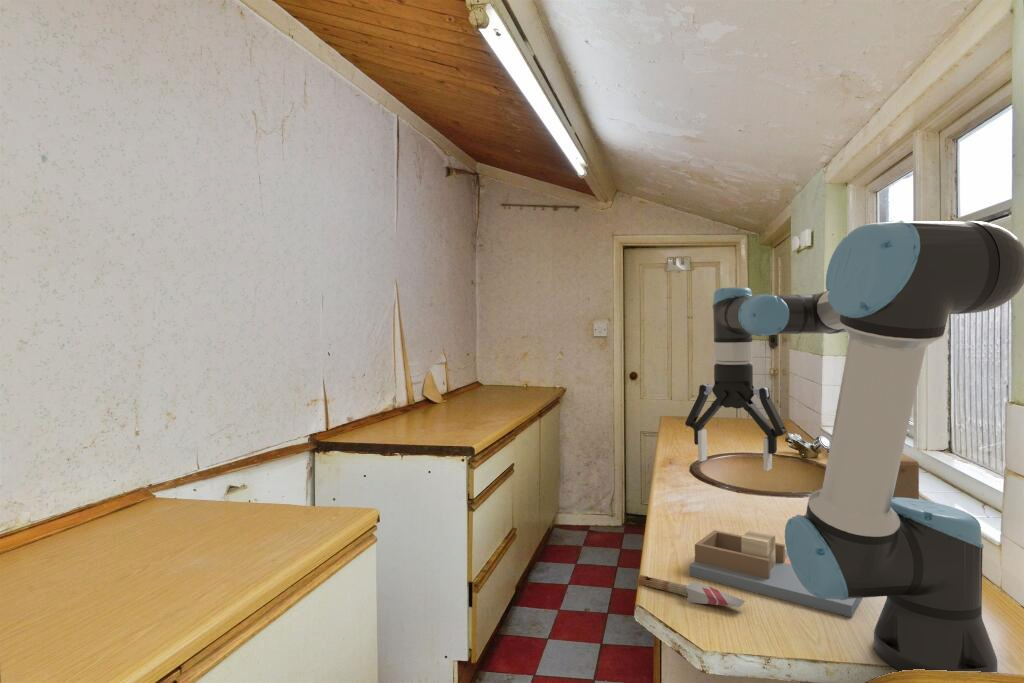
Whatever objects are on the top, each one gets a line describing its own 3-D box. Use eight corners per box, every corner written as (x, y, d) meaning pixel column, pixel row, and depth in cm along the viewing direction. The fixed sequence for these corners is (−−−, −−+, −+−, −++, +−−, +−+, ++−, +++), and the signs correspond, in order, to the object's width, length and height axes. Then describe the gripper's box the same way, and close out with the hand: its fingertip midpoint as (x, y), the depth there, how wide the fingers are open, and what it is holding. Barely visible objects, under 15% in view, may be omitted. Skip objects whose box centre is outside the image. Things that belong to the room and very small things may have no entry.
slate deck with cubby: (851, 617, 104) (851, 585, 103) (689, 575, 122) (689, 548, 122) (873, 578, 119) (872, 550, 119) (726, 545, 138) (725, 521, 137)
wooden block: (921, 552, 131) (920, 460, 131) (870, 549, 133) (869, 459, 133) (901, 536, 141) (900, 450, 141) (854, 534, 143) (853, 450, 143)
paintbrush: (738, 599, 105) (635, 575, 118) (739, 615, 105) (635, 589, 118) (746, 591, 108) (644, 569, 121) (747, 607, 108) (645, 583, 121)
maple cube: (767, 572, 118) (767, 542, 118) (741, 566, 121) (741, 537, 121) (775, 564, 122) (775, 535, 121) (750, 559, 125) (749, 530, 125)
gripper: (803, 363, 120) (803, 469, 120) (684, 359, 136) (685, 453, 137) (791, 365, 114) (791, 477, 115) (668, 362, 131) (670, 459, 131)
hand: (734, 464), depth 126 cm, fingers open, 13 cm apart
